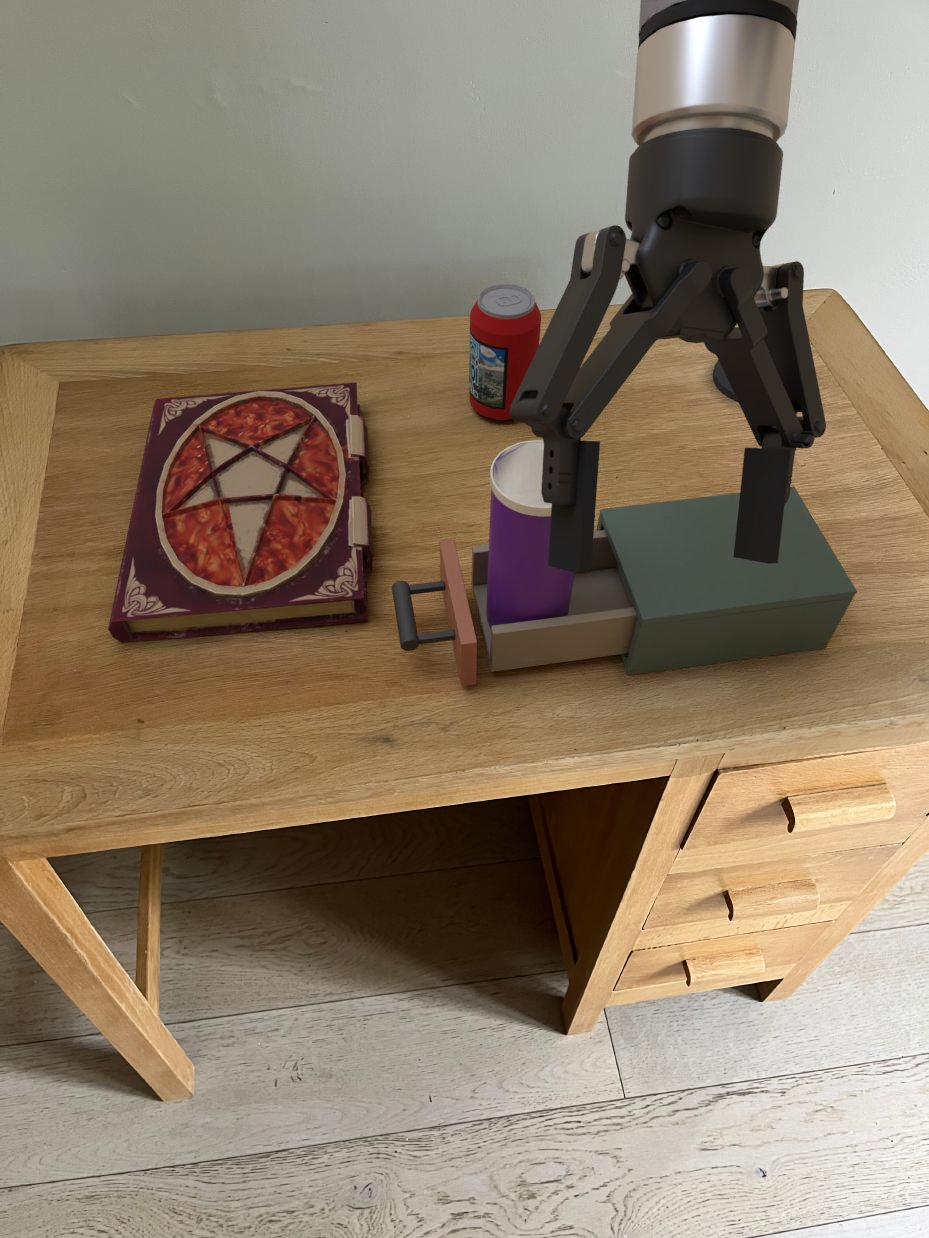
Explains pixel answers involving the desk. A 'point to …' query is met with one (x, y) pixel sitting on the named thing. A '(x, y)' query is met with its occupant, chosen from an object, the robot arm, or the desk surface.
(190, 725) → the desk surface
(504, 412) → the beverage can
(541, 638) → the drawer
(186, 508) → the book
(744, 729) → the desk surface
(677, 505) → the cabinet
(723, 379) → the coaster
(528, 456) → the tube
